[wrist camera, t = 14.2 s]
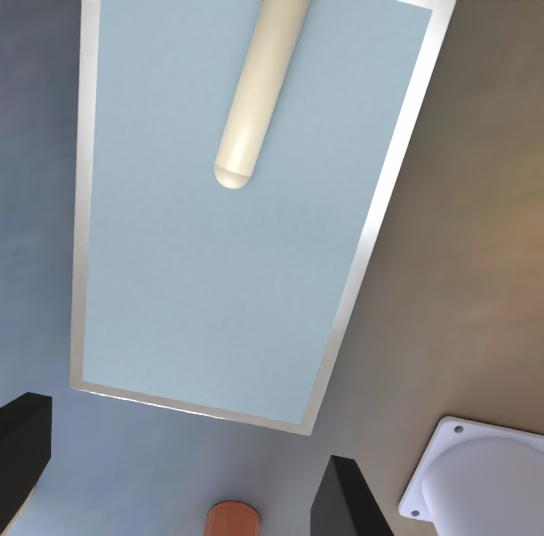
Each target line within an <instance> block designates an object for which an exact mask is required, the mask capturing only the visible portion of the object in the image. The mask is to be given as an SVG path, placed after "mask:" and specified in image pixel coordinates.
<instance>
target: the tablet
mask: <svg viewBox="0 0 544 536" xmlns="http://www.w3.org/2000/svg"><path fill="white" fill-rule="evenodd" d="M262 2H263V0H81V22H80V54H79V86H78V117H77V149H76V181H75V212H74V244H73V276H72V307H71V339H70V371H69V388H71V389H76V390H81V391H86V392H91V393H96V394H101V395H106V396H111V397H116V398H121V399H126V400H131V401H136V402H141V403H146V404H151V405H156V406H161V407H166V408H171V409H176V410H181V411H186V412H191V413H196V414H201V415H207V416H212V417H217V418H222V419H227V420H232V421H237V422H242V423H247V424H252V425H257V426H262V427H267V428H272V429H277V430H282V431H287V432H292V433H297V434H302V435H307V436H311V433H312V431H313V428H314V425H315V422H316V419H317V416H318V413H319V410H320V407H321V404H322V401H323V398H324V395H325V392H326V389H327V386H328V383H329V380H330V377H331V374H332V371H333V368H334V365H335V362H336V359H337V356H338V353H339V350H340V347H341V344H342V341H343V338H344V335H345V332H346V329H347V326H348V323H349V320H350V317H351V314H352V311H353V309H354V306H355V303H356V300H357V297H358V294H359V291H360V288H361V285H362V282H363V279H364V276H365V273H366V270H367V267H368V264H369V261H370V258H371V255H372V252H373V249H374V246H375V243H376V240H377V237H378V234H379V231H380V228H381V225H382V222H383V219H384V216H385V213H386V210H387V207H388V204H389V201H390V198H391V195H392V192H393V190H394V187H395V184H396V181H397V178H398V175H399V172H400V169H401V166H402V163H403V160H404V157H405V154H406V151H407V148H408V145H409V142H410V139H411V136H412V133H413V130H414V127H415V124H416V121H417V118H418V115H419V112H420V109H421V106H422V103H423V100H424V97H425V94H426V91H427V88H428V85H429V82H430V79H431V76H432V73H433V70H434V68H435V65H436V62H437V59H438V56H439V53H440V50H441V47H442V44H443V41H444V38H445V35H446V32H447V29H448V26H449V23H450V20H451V17H452V14H453V11H454V8H455V5H456V2H457V0H310V3H309V6H308V9H307V12H306V15H305V18H304V21H303V24H302V27H301V30H300V33H299V36H298V39H297V42H296V45H295V48H294V51H293V54H292V57H291V60H290V63H289V66H288V69H287V72H286V75H285V78H284V81H283V84H282V87H281V90H280V92H279V95H278V98H277V101H276V104H275V107H274V110H273V113H272V116H271V119H270V122H269V125H268V128H267V131H266V134H265V137H264V140H263V143H262V146H261V149H260V152H259V155H258V158H257V161H256V164H255V167H254V170H253V173H252V176H251V178H250V180H249V181H248V182H247V183H246V184H245V185H244V186H242V187H240V188H236V189H231V188H227V187H225V186H223V185H222V184H221V183H220V182H219V181H218V180H217V179H216V176H215V173H214V163H215V159H216V156H217V153H218V149H219V146H220V143H221V139H222V136H223V133H224V129H225V126H226V123H227V119H228V116H229V113H230V109H231V106H232V102H233V99H234V96H235V92H236V89H237V86H238V82H239V79H240V76H241V72H242V69H243V66H244V62H245V59H246V55H247V52H248V49H249V45H250V42H251V39H252V35H253V32H254V29H255V25H256V22H257V19H258V15H259V12H260V8H261V5H262Z"/></svg>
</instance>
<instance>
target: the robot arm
mask: <svg viewBox="0 0 544 536" xmlns="http://www.w3.org/2000/svg"><path fill="white" fill-rule="evenodd" d="M457 426H459V427H457ZM51 427H52V397H50V396H45V395H40V394H35V393H30V392H27V393H25V394H23V395H22V396H20V397H18V398H17V399H15V400H13V401H11V402H10V403H8V404H6V405H5V406H3V407H1V408H0V536H1V534H2V533H3V532H4V530H5V529H6V527H7V526H8V525H9V523H10V522H11V520H12V519H13V518H14V516H15V515H16V513H17V512H18V511H19V509H20V508H21V506H22V505H23V504H24V502H25V501H26V499H27V498H28V496H29V494H30V493H31V491H32V489H33V488H34V486H35V484H36V483H37V481H38V479H39V477H40V476H41V474H42V472H43V470H44V469H45V467H46V465H47V463H48V461H49V460H50V458H51ZM455 427H457V428H455ZM398 508H399V512H400V514H401V515H402V516H404V517H409V518H414V519H419V520H424V521H430V522H434V525H435V528H436V530H437V533H438V536H544V436H543V435H538V434H533V433H529V432H524V431H519V430H514V429H509V428H504V427H499V426H495V425H490V424H485V423H480V422H475V421H470V420H465V419H461V418H456V417H449V416H447V417H444V418H442V419H441V420H440V422H439V424H438V426H437V428H436V430H435V432H434V434H433V436H432V438H431V440H430V442H429V444H428V446H427V448H426V450H425V452H424V454H423V456H422V458H421V461H420V463H419V465H418V467H417V469H416V471H415V473H414V475H413V477H412V479H411V481H410V483H409V485H408V487H407V489H406V491H405V493H404V495H403V497H402V499H401V501H400V504H399V506H398ZM310 536H394V534H393V532H392V531H391V529H390V527H389V525H388V523H387V521H386V519H385V518H384V516H383V514H382V512H381V510H380V508H379V506H378V504H377V502H376V500H375V498H374V496H373V495H372V493H371V491H370V489H369V487H368V485H367V483H366V481H365V479H364V477H363V475H362V473H361V471H360V469H359V467H358V465H357V463H356V462H355V460H354V459H349V458H344V457H339V456H334V455H331V457H330V460H329V463H328V465H327V468H326V471H325V473H324V476H323V478H322V481H321V484H320V486H319V489H318V492H317V494H316V497H315V499H314V502H313V505H312V507H311V521H310Z"/></svg>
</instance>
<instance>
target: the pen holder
mask: <svg viewBox="0 0 544 536" xmlns="http://www.w3.org/2000/svg"><path fill="white" fill-rule="evenodd" d="M203 536H260V519H259V516H258V514H257V513H256V511H255V510H254V509H253V508H251V507H250V506H248V505H246V504H243V503H240V502H232V501H230V502H223V503H220V504H217V505H215V506H214V507H213V508H211V510H210V511H209V512H208V515H207V519H206V524H205V528H204V533H203Z"/></svg>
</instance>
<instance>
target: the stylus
mask: <svg viewBox="0 0 544 536" xmlns="http://www.w3.org/2000/svg"><path fill="white" fill-rule="evenodd" d="M309 3H310V0H263V2H262V5H261V8H260V12H259V15H258V19H257V22H256V25H255V29H254V32H253V35H252V39H251V42H250V45H249V49H248V52H247V55H246V59H245V62H244V66H243V69H242V72H241V76H240V79H239V82H238V86H237V89H236V92H235V96H234V99H233V102H232V106H231V109H230V113H229V116H228V119H227V123H226V126H225V129H224V133H223V136H222V139H221V143H220V146H219V149H218V153H217V156H216V159H215V163H214V173H215V176H216V179H217V180H218V181H219V182H220V183H221V184H222V185H223V186H225V187H227V188H231V189H236V188H240V187H242V186H244V185H245V184H246V183H247V182H248V181H249V180H250V178H251V176H252V173H253V170H254V167H255V164H256V161H257V158H258V155H259V152H260V149H261V146H262V143H263V140H264V137H265V134H266V131H267V128H268V125H269V122H270V119H271V116H272V113H273V110H274V107H275V104H276V101H277V98H278V95H279V92H280V90H281V87H282V84H283V81H284V78H285V75H286V72H287V69H288V66H289V63H290V60H291V57H292V54H293V51H294V48H295V45H296V42H297V39H298V36H299V33H300V30H301V27H302V24H303V21H304V18H305V15H306V12H307V9H308V6H309Z"/></svg>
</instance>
